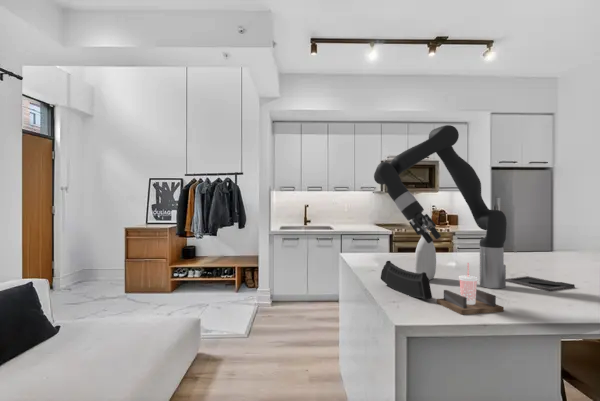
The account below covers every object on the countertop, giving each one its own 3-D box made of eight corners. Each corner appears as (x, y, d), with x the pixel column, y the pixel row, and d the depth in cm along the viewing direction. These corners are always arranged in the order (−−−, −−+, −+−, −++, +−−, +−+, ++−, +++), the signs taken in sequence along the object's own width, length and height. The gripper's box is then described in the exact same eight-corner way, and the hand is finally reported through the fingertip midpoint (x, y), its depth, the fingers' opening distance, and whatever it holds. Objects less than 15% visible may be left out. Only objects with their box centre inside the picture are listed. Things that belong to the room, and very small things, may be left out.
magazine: (436, 278, 133) (391, 245, 160) (429, 279, 132) (385, 246, 159) (427, 319, 138) (385, 280, 165) (420, 320, 137) (379, 281, 164)
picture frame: (574, 289, 157) (527, 279, 176) (574, 284, 157) (527, 275, 176) (549, 293, 151) (503, 282, 170) (549, 288, 151) (503, 278, 170)
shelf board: (475, 300, 137) (475, 287, 137) (503, 311, 124) (503, 296, 124) (436, 302, 134) (436, 289, 134) (461, 314, 120) (461, 299, 120)
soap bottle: (425, 283, 165) (425, 223, 165) (410, 280, 172) (410, 222, 172) (443, 279, 174) (443, 222, 174) (428, 276, 180) (428, 221, 180)
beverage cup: (470, 299, 132) (470, 261, 132) (481, 304, 126) (481, 264, 126) (455, 300, 131) (455, 261, 131) (465, 305, 125) (465, 264, 125)
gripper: (408, 202, 136) (436, 238, 131) (422, 198, 147) (449, 231, 142) (394, 213, 141) (420, 249, 135) (408, 209, 152) (434, 241, 146)
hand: (435, 239), depth 139 cm, fingers open, 8 cm apart
